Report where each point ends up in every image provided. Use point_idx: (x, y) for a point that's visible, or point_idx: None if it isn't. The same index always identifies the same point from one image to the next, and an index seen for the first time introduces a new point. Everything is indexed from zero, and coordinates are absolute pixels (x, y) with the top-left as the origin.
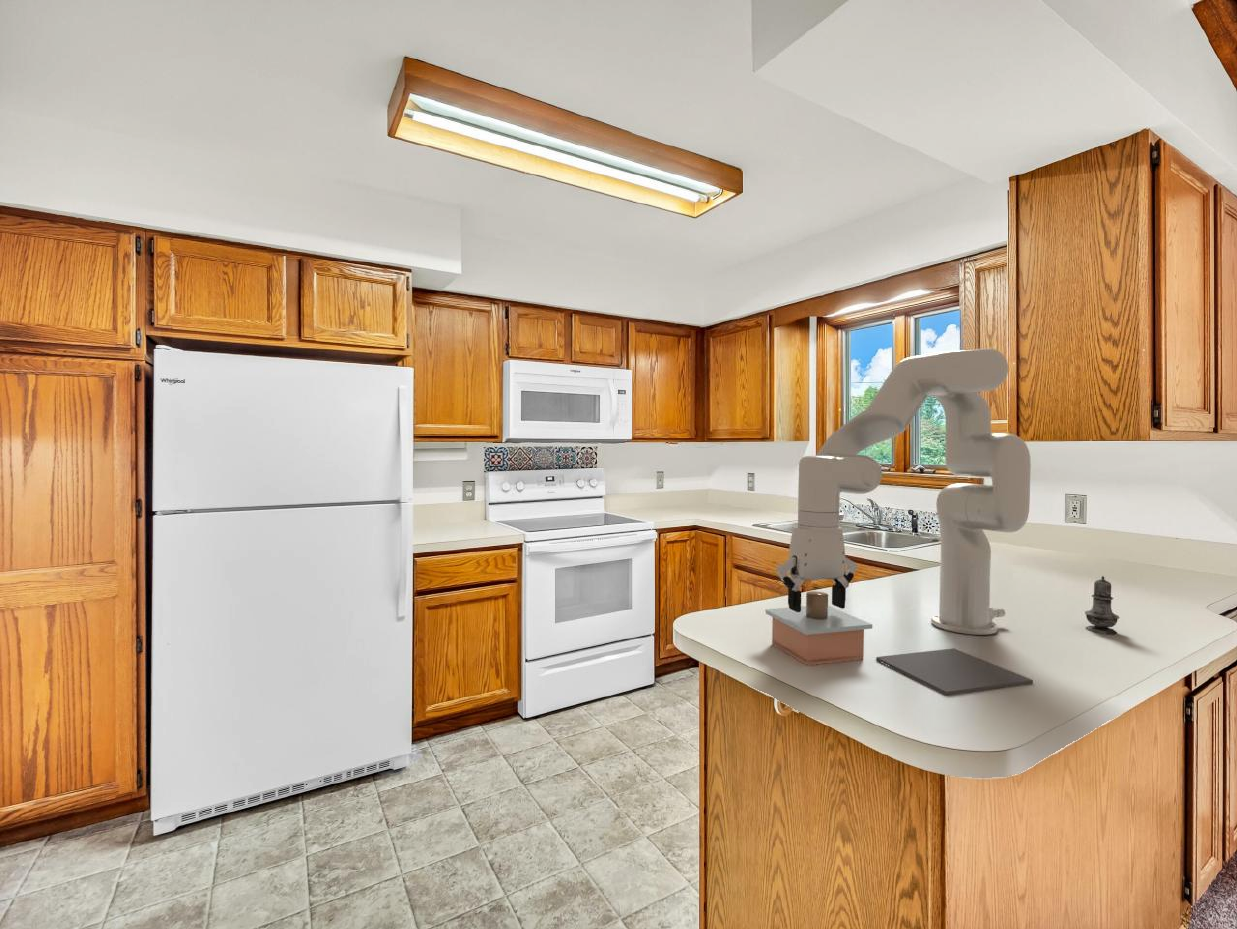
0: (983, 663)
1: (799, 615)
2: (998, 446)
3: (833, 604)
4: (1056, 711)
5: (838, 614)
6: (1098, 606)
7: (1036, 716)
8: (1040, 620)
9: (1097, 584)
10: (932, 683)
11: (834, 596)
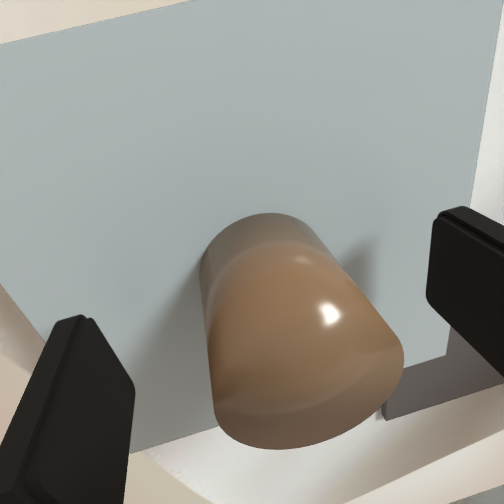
0: None
1: (158, 258)
2: None
3: (435, 232)
4: (486, 429)
5: (410, 228)
6: None
7: (445, 445)
8: None
9: None
10: (392, 396)
11: (482, 275)
